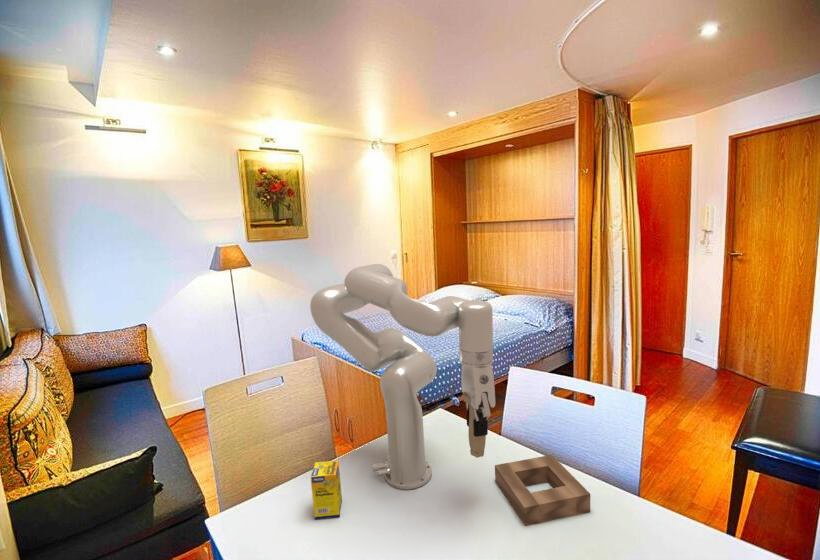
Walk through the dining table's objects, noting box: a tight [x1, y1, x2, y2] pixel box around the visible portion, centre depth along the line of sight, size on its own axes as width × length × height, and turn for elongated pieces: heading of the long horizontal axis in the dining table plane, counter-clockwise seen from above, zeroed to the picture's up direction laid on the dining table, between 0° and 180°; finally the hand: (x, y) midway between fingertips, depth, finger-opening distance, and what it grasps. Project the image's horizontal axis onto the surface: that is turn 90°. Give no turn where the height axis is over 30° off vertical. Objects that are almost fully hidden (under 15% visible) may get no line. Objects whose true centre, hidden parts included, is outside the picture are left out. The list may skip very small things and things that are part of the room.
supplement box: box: [310, 460, 343, 521], centre depth 96 cm, size 6×6×11 cm
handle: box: [462, 392, 489, 459], centre depth 94 cm, size 5×6×15 cm
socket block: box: [494, 454, 591, 527], centre depth 97 cm, size 16×16×4 cm
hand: (476, 429), depth 95 cm, fingers closed on handle, 3 cm apart
